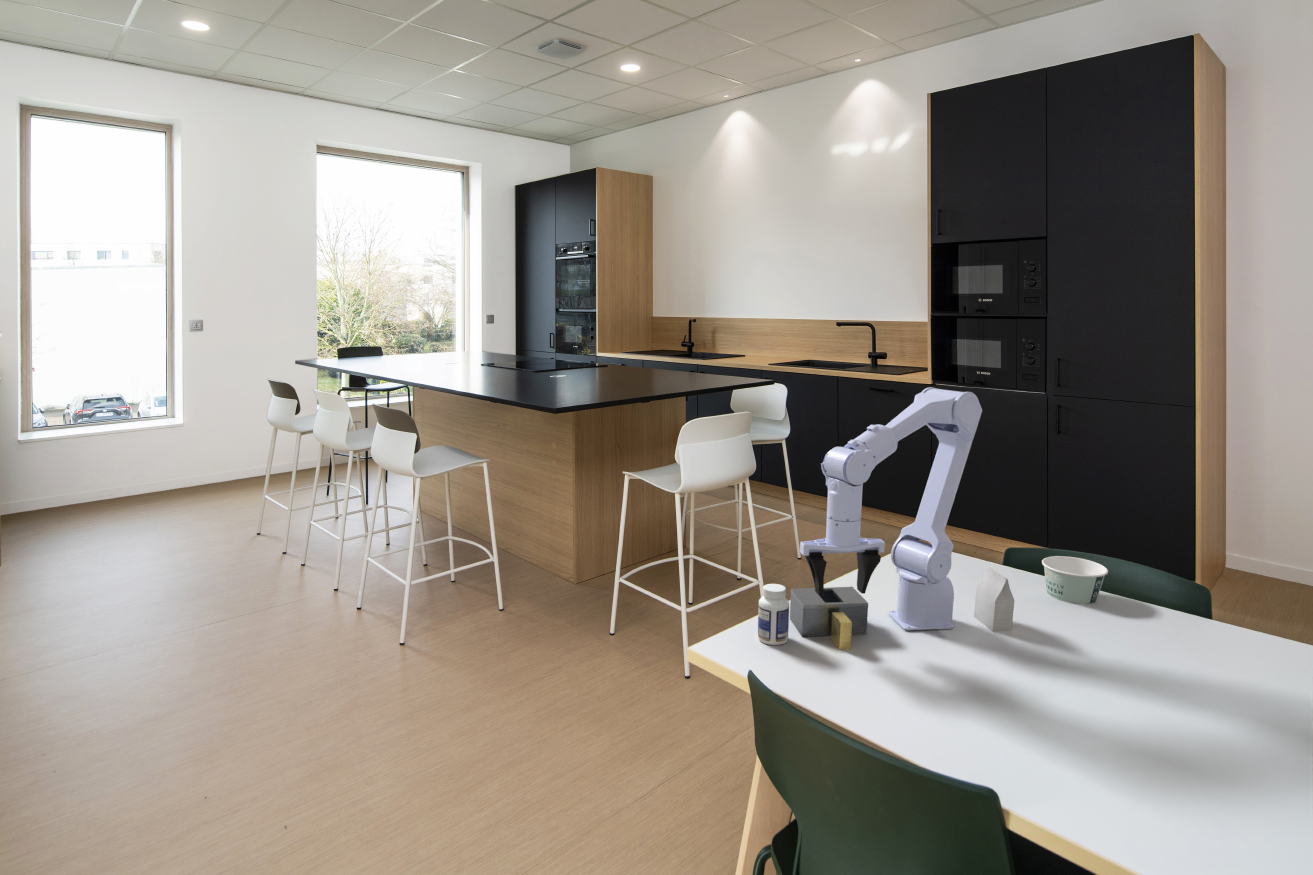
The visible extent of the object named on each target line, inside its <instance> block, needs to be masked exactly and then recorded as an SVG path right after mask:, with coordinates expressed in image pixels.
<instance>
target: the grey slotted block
mask: <svg viewBox="0 0 1313 875" xmlns="http://www.w3.org/2000/svg"><path fill="white" fill-rule="evenodd" d="M832 612H844V614H845V615H846V616H847V617H848V618H849V619H850V621H851V622H852V631H851V636H857V635H858V636H859V635H860V636H861V635H867V632H868V613H869V602H868V601H867V599H865V598H864V597H863V596H862V595H861V594H860V592H859V591H857V589H855V588H854V587H853V586H837V587H835V586H831V587H824V591H823V595H820V596H819V595H818V594H817V593H816V592H815V587H808V588H806V587H805V588H790V602H789V620H790V621H791V623H792V624H793V626H794V627H795V628H796V631H797V632H798V633H799V634H800V636H801V637H802V638H806V637H809V638H811V637H831V625H832Z"/></svg>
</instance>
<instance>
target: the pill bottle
mask: <svg viewBox="0 0 1313 875" xmlns="http://www.w3.org/2000/svg"><path fill="white" fill-rule="evenodd" d="M786 590H787V589H786V586H785V585H782V584H778V583H768V584H764V585H763V587H762V596H761V597H760V598H759V599H758V611H757V613H758V614H757V616H758V617H757V638H758V640H759V641H760V642H761V643H763V644H766V645H771V646H779V645H783V644H786V643H787V641H788V640H789V622H790V621H789V620H790V602H789V600H788V598H786V594H787V592H786Z"/></svg>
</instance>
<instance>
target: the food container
mask: <svg viewBox="0 0 1313 875" xmlns="http://www.w3.org/2000/svg"><path fill="white" fill-rule="evenodd" d="M1041 564H1042V566H1043V568H1044V570H1043V571H1044V580H1045V590H1046V594H1047V595H1048V596H1049V597H1051V598H1053V599H1055V600H1058V601H1061V602H1065V603H1070V604H1077V605H1090V604H1094V603H1096V602H1097V600H1098V598H1099V596H1100V592H1101V589H1102V586H1103V582H1104V579H1105V576H1106V575H1108V573H1109V569H1108V568H1107V567H1105V566H1104V565H1103V564H1101V563H1098V562H1096V561H1093V560H1089V559H1086V558H1081V557H1073V556H1061V555H1055V556H1053V555H1052V556H1048V557H1045V558H1043V559H1042V560H1041Z"/></svg>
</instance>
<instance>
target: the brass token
mask: <svg viewBox="0 0 1313 875" xmlns="http://www.w3.org/2000/svg"><path fill="white" fill-rule="evenodd" d="M851 631H852V622H851V621H850V619H849V618H848V617H847V616H846V615H845V614H844V612H832V625H831V636H830V639H831V641H832V642H833V643H834V645H835V646H836V648H837V649H838V650H839V651H840V650H841V651H843V650H844V651H845V650H851V648H852V635H851Z"/></svg>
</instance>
